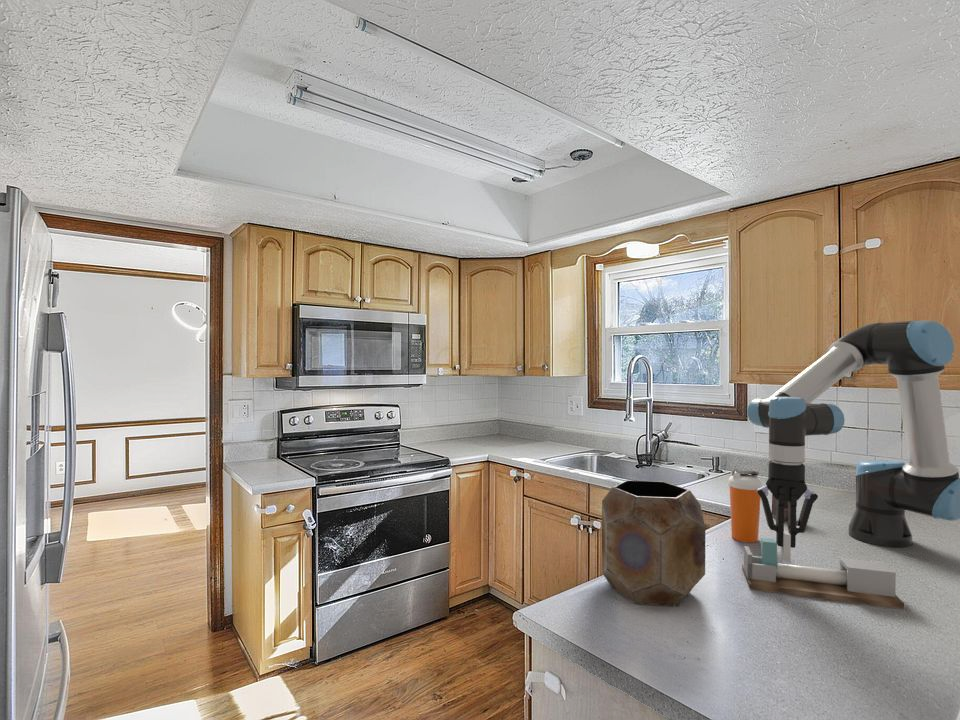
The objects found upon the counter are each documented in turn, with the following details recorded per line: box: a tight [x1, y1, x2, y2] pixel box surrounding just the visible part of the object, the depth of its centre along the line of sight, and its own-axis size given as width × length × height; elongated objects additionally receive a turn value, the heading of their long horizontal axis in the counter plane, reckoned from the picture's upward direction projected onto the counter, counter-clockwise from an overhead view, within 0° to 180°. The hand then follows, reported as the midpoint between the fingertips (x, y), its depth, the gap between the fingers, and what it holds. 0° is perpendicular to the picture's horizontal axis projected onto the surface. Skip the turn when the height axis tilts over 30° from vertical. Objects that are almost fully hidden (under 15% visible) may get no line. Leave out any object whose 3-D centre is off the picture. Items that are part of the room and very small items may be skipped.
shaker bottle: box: [728, 469, 763, 543], centre depth 157 cm, size 9×9×20 cm
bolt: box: [760, 537, 847, 586], centre depth 125 cm, size 20×3×9 cm, turn 71°
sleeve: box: [839, 557, 897, 597], centre depth 121 cm, size 9×6×5 cm, turn 71°
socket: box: [743, 545, 776, 582], centre depth 128 cm, size 6×6×6 cm
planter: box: [601, 480, 706, 607], centre depth 123 cm, size 22×24×24 cm
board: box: [741, 564, 905, 610], centre depth 124 cm, size 30×12×1 cm, turn 71°
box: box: [771, 493, 788, 521], centre depth 176 cm, size 6×4×12 cm
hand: (785, 559), depth 126 cm, fingers closed
